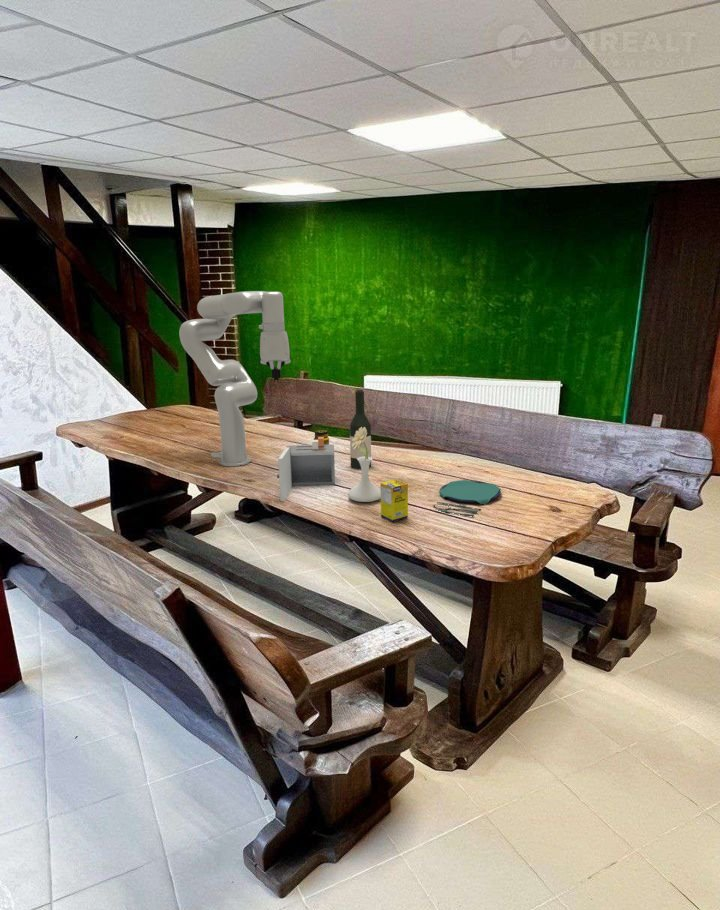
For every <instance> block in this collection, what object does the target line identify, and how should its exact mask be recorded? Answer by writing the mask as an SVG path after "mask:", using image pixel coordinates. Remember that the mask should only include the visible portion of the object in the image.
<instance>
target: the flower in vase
mask: <svg viewBox="0 0 720 910" xmlns="http://www.w3.org/2000/svg"><path fill="white" fill-rule="evenodd" d="M366 432H367V430H366V428H365V427H364V428H363V429H362V427H361V428H359V431H356V434H355V435H354V436H355V437H354V438H353V439H352V441H354V442H353V443H352V446H351V447H354V448H353V450H354V449H355V450H356V449H359V448H360V447H361V448H360V452H361V453H363V454H364V455H366V456H365V457H359V458H357V460H358V461H359V463H360V465H361V469H360V470H361V479H360V481H359V482H358V483H356V484H355V485H354V486H353V487H352V488H350V490H349V491H348V493H347V497H348V498H349V499H350V500H352V501H356V502H360V503H370V502H374V501H378V500H381V488H379V486H377V485H376V484H374V483H373V482H372V481H371V480H370V477H369V473H370V472H369V465H370V462H371V463H372V461H373V457H372V456H371V457H368V453H369V451H368V452H367V447H366V444H365V442H364V441H365V438H366V435H367V433H366ZM363 443H364V445H365V447H366V450H365V449H364V448H363V447H362V446H361V445H362V444H363Z"/></svg>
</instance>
